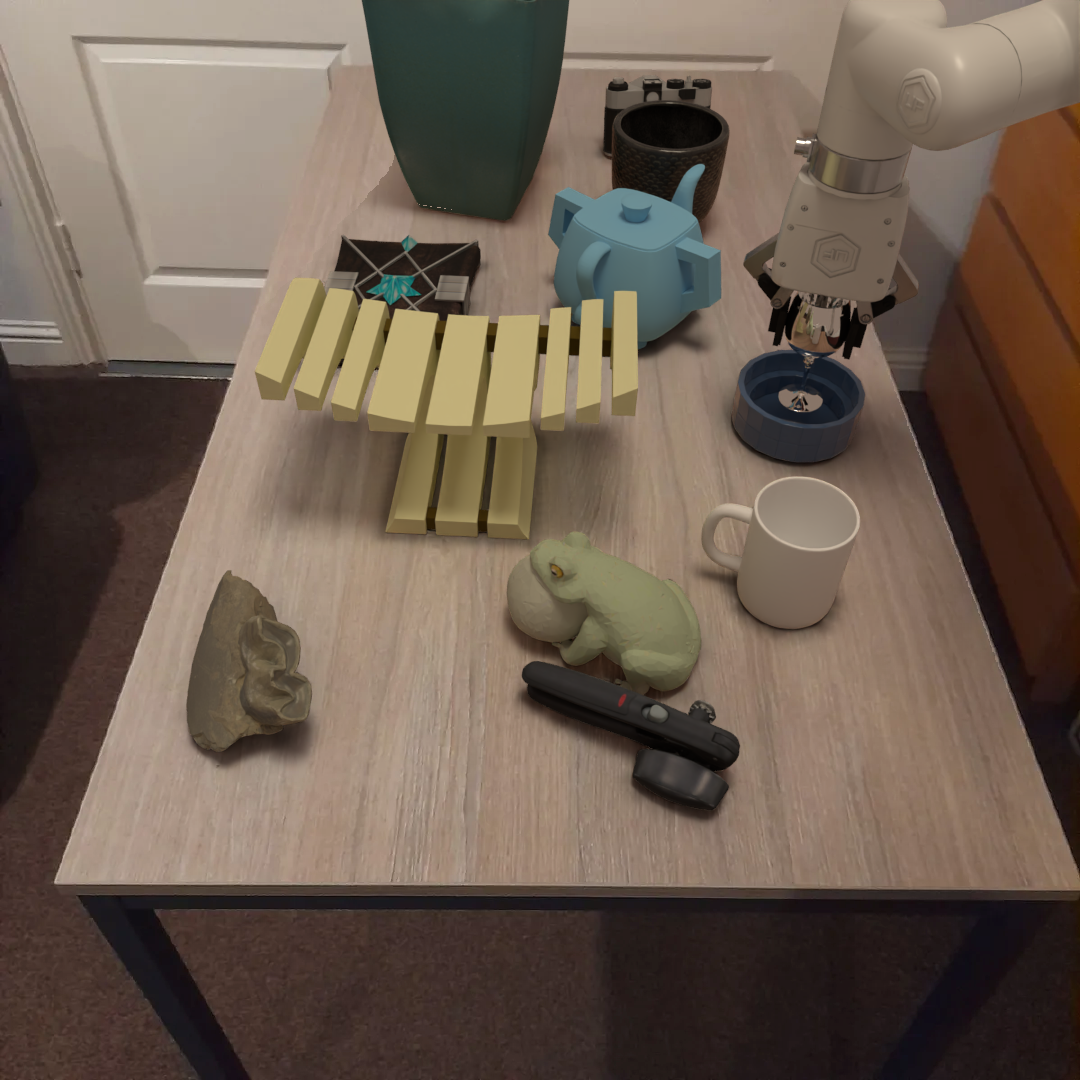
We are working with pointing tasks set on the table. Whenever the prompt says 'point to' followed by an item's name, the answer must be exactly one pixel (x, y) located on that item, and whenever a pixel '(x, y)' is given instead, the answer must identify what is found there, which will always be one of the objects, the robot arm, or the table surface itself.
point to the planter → (669, 150)
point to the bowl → (787, 429)
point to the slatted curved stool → (450, 392)
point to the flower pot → (467, 95)
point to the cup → (789, 549)
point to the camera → (650, 97)
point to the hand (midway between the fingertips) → (812, 342)
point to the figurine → (605, 612)
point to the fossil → (244, 670)
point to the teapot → (635, 255)
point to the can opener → (645, 732)
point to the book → (408, 274)
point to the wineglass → (813, 342)
